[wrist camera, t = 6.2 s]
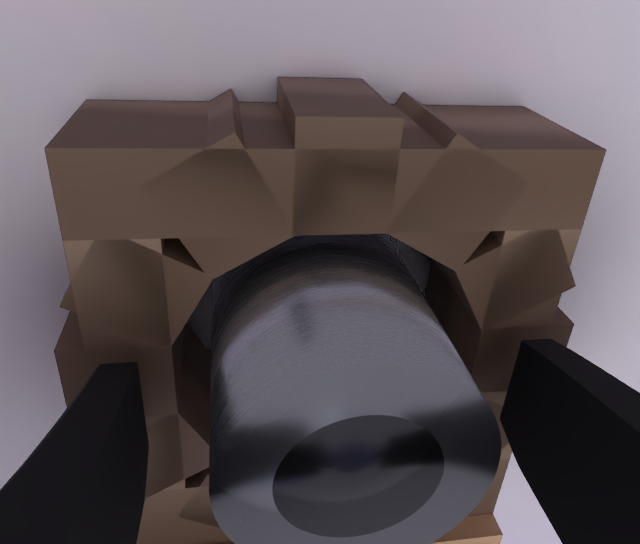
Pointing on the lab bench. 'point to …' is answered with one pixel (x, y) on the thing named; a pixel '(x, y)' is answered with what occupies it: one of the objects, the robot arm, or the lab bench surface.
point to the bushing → (340, 401)
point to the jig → (295, 220)
